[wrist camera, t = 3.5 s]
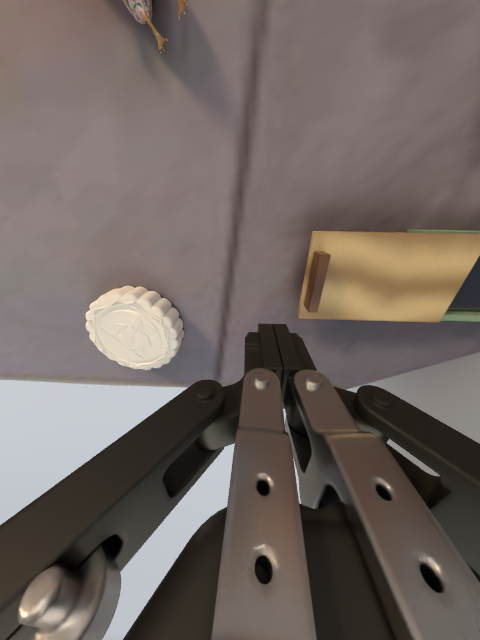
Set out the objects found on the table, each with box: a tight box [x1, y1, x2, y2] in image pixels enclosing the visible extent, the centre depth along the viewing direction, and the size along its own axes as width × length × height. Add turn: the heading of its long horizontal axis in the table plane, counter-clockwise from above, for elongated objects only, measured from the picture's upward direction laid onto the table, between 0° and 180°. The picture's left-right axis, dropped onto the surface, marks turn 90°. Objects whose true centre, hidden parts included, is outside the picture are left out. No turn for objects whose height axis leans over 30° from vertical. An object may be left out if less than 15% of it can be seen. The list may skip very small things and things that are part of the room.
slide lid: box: [297, 231, 480, 322], centre depth 20 cm, size 10×17×3 cm, turn 89°
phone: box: [449, 256, 480, 308], centre depth 22 cm, size 7×15×1 cm, turn 89°
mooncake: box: [86, 286, 184, 370], centre depth 26 cm, size 12×12×4 cm
